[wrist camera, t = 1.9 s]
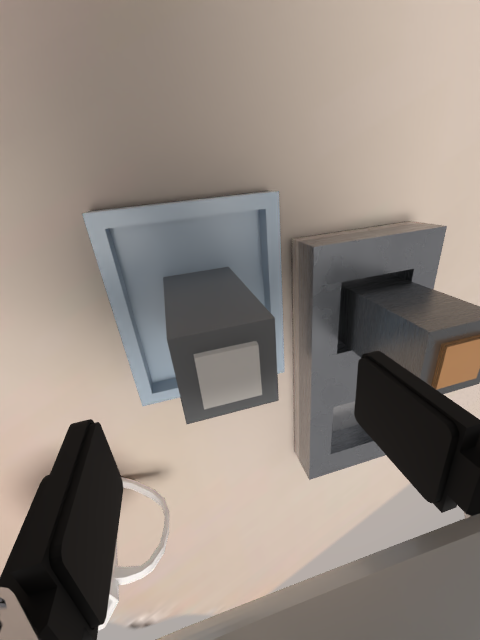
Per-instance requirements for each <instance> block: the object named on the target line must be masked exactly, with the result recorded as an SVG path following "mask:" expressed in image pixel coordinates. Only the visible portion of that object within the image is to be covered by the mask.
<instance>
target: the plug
mask: <svg viewBox="0 0 480 640" xmlns="http://www.w3.org/2000/svg"><path fill="white" fill-rule="evenodd" d="M163 284H164V301H165V318H166V335H167V343H168V347H169V351H170V355H171V360H172V364H173V368H174V372H175V377H176V381H177V385H178V389H179V394H180V398H181V402H182V406H183V411H184V415H185V419H186V423H187V424H190V423H194V422H198V421H202V420H205V419H209V418H213V417H217V416H221V415H225V414H228V413H232V412H236V411H240V410H244V409H248V408H251V407H255V406H259V405H263V404H267V403H271V402H275V401H278V377H277V354H276V331H275V317H274V316H273V315H272V314H271V313H270V312H269V311H268V310H267V309H266V307H265V306H264V305H263V304H262V303H261V302H260V301H259V300H258V299H257V298H256V296H255V295H254V294H253V293H252V292H251V291H250V290H249V289H248V288H247V287H246V285H245V284H244V283H243V282H242V281H241V280H240V279H239V278H238V277H237V275H236V274H235V273H234V272H233V271H232V270H231V269H230V268H229V267H223V268H217V269H211V270H205V271H199V272H192V273H186V274H180V275H174V276H168V277H163Z"/></svg>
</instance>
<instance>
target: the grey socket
mask: <svg viewBox="0 0 480 640" xmlns="http://www.w3.org/2000/svg"><path fill="white" fill-rule="evenodd" d="M446 227H447V226H442V225H434V224H427V223H419V222H411V221H408V222H401V223H394V224H388V225H381V226H374V227H367V228H361V229H354V230H347V231H340V232H334V233H327V234H320V235H314V236H307V237H300V238H293V239H292V289H293V363H294V437H295V453H296V455H297V457H298V459H299V461H300V463H301V465H302V467H303V469H304V471H305V472H306V474H307V476H308V478H309V480H310V479H313V478H316V477H319V476H322V475H326V474H329V473H332V472H335V471H338V470H341V469H344V468H347V467H350V466H353V465H357V464H360V463H363V462H366V461H369V460H372V459H375V458H378V457H381V456H384V455H386V454H385V453H384V452H383V451H382V450H381V449H380V447H379V446H378V445H377V444H376V443H375V442H374V441H373V440H372V438H371V437H370V436H369V435H368V434H367V433H366V432H365V430H364V429H363V428H362V427H361V426H360V425H359V424H358V422H357V421H356V419H355V415H354V410H355V397H356V384H357V372H358V361H359V359H361V357H362V355H363V354H365V353H369V352H373V351H380V352H382V353H384V354H385V355H387V356H388V357H389V358H391V359H392V360H394V361H395V362H397V363H398V364H400V365H401V366H402V367H404V368H405V369H407V370H408V371H410V372H411V373H413V374H414V375H416V376H417V377H418V378H420V379H421V380H423V381H424V382H426V383H427V384H429V385H430V386H431V387H433V388H434V389H436V390H437V391H439V392H440V393H442V394H445V393H449V392H452V391H455V390H459V389H462V388H466V387H469V386H473V385H476V384H479V382H480V307H479V306H477V305H474V304H471V303H468V302H466V301H463V300H460V299H458V298H455V297H452V296H449V295H447V294H444V293H441V292H438V291H436V290H433V288H434V284H435V279H436V274H437V269H438V265H439V260H440V255H441V251H442V246H443V241H444V237H445V232H446Z"/></svg>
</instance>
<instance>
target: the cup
mask: <svg viewBox="0 0 480 640" xmlns="http://www.w3.org/2000/svg"><path fill="white" fill-rule="evenodd" d="M121 478H122V482H123V488H128V489H132V490H134V491H137V492H139V493H141V494H143V495H145V496H147V497H149V498H151V499H152V500H154V501H155V502H156V503H157V504H159V505H160V506H161V507H162V510H163V513H164V515H165V522H164V529H163V533H162V537H161V542H160V544H159V545H158V547H157V548H156V550H155V551H154V553H153V554H152V556H151V557H150V559H149V560H148V561H147V562H145V563H144V564H142V565H141V566H128V567H121V566H118V561H117V540H116V548H115V555H114V563H113V571H112V578H111V586H110V593H109V601H108V609H107V615H106V620H105V622H104V624H102V625H99V626H98V631H99V630H101V629H103V628H104V627H105V626H106V624H107V622H108V620H109V619H110V617H111V615H112V613H113V611H114V609H115V607H116V605H117V603H118V601H119V587H118V585H124V584H129V583H131V582H134V581H137V580H139V579H142V578H143V577H145V576H146V575H148V574H149V573H150V572H152V571H153V570H154V568H155V566H156V565H157V563H158V562H159V560H160V559H161V557H162V555H163V554H164V551H165V547H166V543H167V538H168V534H169V518H170V517H169V509H168V506H167V504H166V501H165V498H164V497H163V496H161V495H160V494H159V493H158V492H157V491H156V490H154V489H152V488H150V487H148V486H146V485H144V484H142V483H140V482H137V481H135V480H132V479H128V478H123V477H121ZM1 575H2V574H1ZM0 577H1V576H0Z"/></svg>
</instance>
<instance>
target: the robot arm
mask: <svg viewBox="0 0 480 640" xmlns="http://www.w3.org/2000/svg"><path fill="white" fill-rule="evenodd" d="M354 415H355V419H356V421H357V422H358V424H359V425H360V426H361V427H362V428H363V429H364V430H365V432H366V433H367V434H368V435H369V436H370V437H371V438H372V440H373V441H374V442H375V443H376V444H377V445H378V446H379V447H380V449H381V450H382V451H383V452H384V453H385V454H386V455H387V457H388V458H389V459H390V460H391V461H392V462H393V463H394V464H395V466H396V467H397V468H398V469H399V470H400V471H401V472H402V474H403V475H404V476H405V477H406V478H407V479H408V480H409V481H410V483H411V484H412V485H413V486H414V487H415V488H416V489H417V490H418V492H419V493H420V494H421V495H422V496H423V497H424V498H425V499H426V500H427V501H428V502H430V503H433V504H434V505H435V506H436V507H437V508H438V509H439V510H440V511H441V512H445V511H448V510H450V509H453V508H455V507H456V506H457V505H458V506H459V507H460V508H461V509H462V510H463V511H464V514H465V519H463V520H460V521H457V522H455V523H452V524H450V525H447V526H444V527H442V528H439V529H437V530H434V531H431V532H429V533H426V534H423V535H421V536H418V537H416V538H413V539H410V540H408V541H405V542H402V543H400V544H397V545H394V546H392V547H389V548H387V549H384V550H381V551H379V552H376V553H374V554H372V555H369V556H366V557H363V558H361V559H358V560H356V561H353V562H351V563H348V564H345V565H343V566H340V567H338V568H335V569H332V570H330V571H327V572H325V573H322V574H320V575H317V576H315V577H312V578H309V579H307V580H304V581H302V582H299V583H296V584H294V585H291V586H289V587H286V588H284V589H281V590H279V591H276V592H273V593H271V594H268V595H266V596H263V597H261V598H258V599H256V600H253V601H251V602H248V603H246V604H243V605H241V606H238V607H236V608H233V609H230V610H228V611H225V612H223V613H220V614H218V615H215V616H213V617H210V618H208V619H205V620H203V621H200V622H198V623H195V624H193V625H190V626H188V627H185V628H182V629H180V630H178V631H175V632H173V633H171V634H168V635H166V636H163V637H161V638H159V639H156V640H480V420H479V419H478V418H476V417H475V416H473V415H472V414H471V413H469V412H468V411H466V410H465V409H463V408H462V407H460V406H459V405H458V404H456V403H455V402H453V401H452V400H450V399H449V398H447V397H446V396H445V395H443V394H442V393H440V392H439V391H437V390H436V389H434V388H433V387H431V386H430V385H429V384H427V383H426V382H424V381H423V380H421V379H420V378H418V377H417V376H416V375H414V374H413V373H411V372H410V371H408V370H407V369H405V368H404V367H402V366H401V365H400V364H398V363H397V362H395V361H394V360H392V359H391V358H389V357H388V356H387V355H385V354H384V353H382V352H380V351H373V352H369V353H365V354H363V355H362V357H361V359H359V361H358V372H357V384H356V397H355V410H354ZM122 494H123V482H122V478H121V475H120V473H119V470H118V468H117V465H116V463H115V460H114V457H113V455H112V452H111V450H110V447H109V445H108V442H107V440H106V437H105V435H104V432H103V430H102V427H101V425H100V423H99V422H97V423H94V422H93V420H91V419H90V420H86V421H81V422H77V423H73V424H71V425H70V427H69V429H68V431H67V434H66V436H65V439H64V441H63V444H62V446H61V449H60V451H59V454H58V456H57V458H56V461H55V463H54V466H53V468H52V471H51V473H50V475H47V476H46V477H44V478H43V480H42V482H41V483H40V485H39V488H38V490H37V492H36V495H35V497H34V500H33V502H32V504H31V507H30V509H29V511H28V514H27V516H26V518H25V521H24V523H23V525H22V528H21V530H20V532H19V535H18V537H17V539H16V542H15V544H14V546H13V549H12V551H11V553H10V556H9V558H8V561H7V563H6V565H5V568H4V570H3V572H2V575H1V577H0V640H97V633H98V626H99V625H102V624H104V622H105V620H106V615H107V609H108V601H109V593H110V586H111V578H112V571H113V563H114V555H115V548H116V540H117V532H118V525H119V517H120V510H121V502H122Z"/></svg>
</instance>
